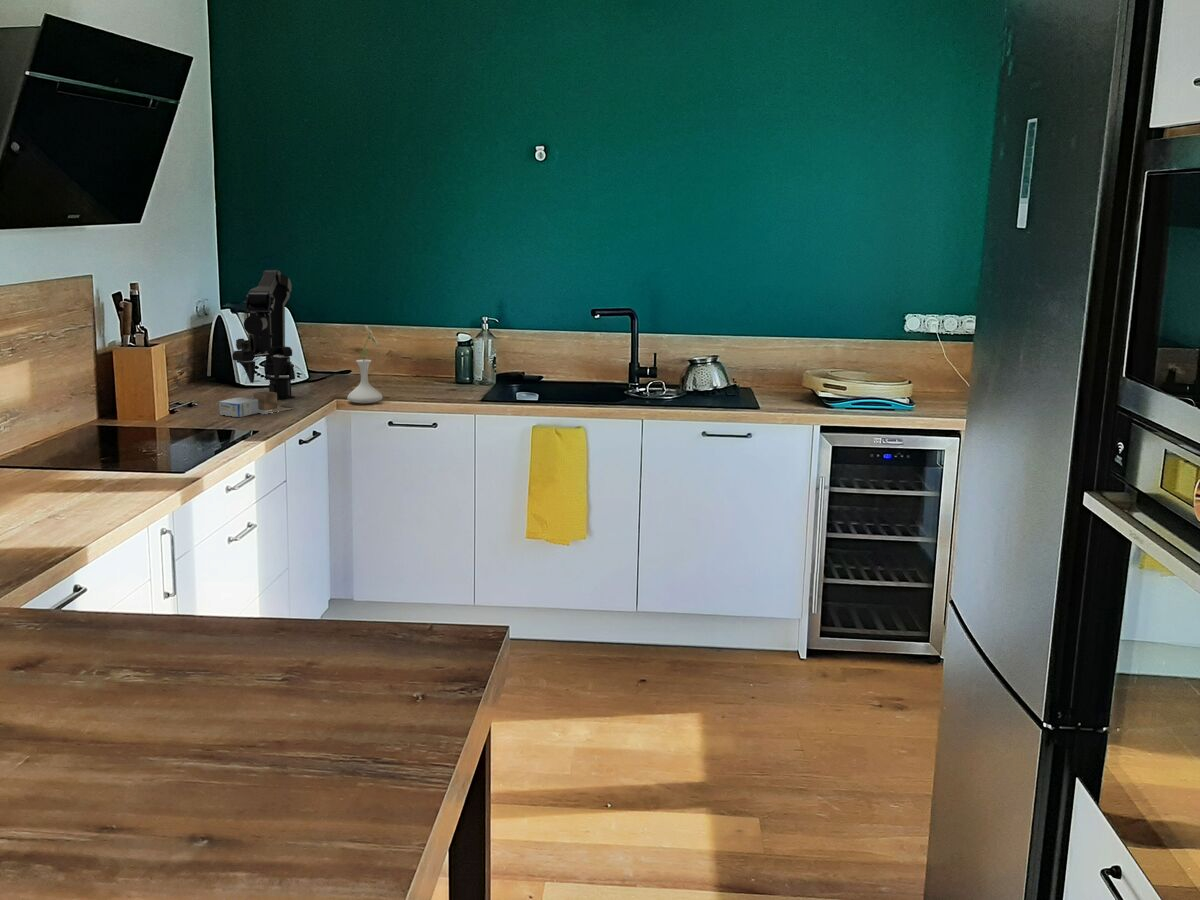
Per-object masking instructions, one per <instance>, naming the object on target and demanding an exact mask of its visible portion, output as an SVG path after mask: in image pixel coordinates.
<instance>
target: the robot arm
mask: <svg viewBox="0 0 1200 900" xmlns="http://www.w3.org/2000/svg"><path fill="white" fill-rule="evenodd" d="M261 277H262V278H261V279H260V281H259V283H258V285H257V286H255V287H253V288H250V290H249V291H248V293H246V298H245V304H244V314H249V316H248V317H246V318H245V320H244V321H243V328H244V330H245V331H246V333H248V334H249V335H248V340H247V339H244V338H238V339H236V341H235V346H236V349H237V350H234V351H233V352H232V354H231V355H232V356H231V357H232V361H235V362H236V363H237V364H240V366H242V367H243V369H244V371H245V373H246V375H247V378H248V380H249V383H250V384H254V382H255V375H256V374H255V372H256V361H254V360H255V358H263V357H265V361H264V364H263V367H264V368H263V369H264V376H265V381H269V384H268V392H275V393H277V400H284V399H283V398H286V399H290V398H289V397H292V398H295V395H292V381H293V380H296V372H295V368H294V365H293V364H292V363H293V362H292V361H291V357H292V356H293V349H292V348H291V347H290V346H286V304H287V302H288V301H289V299H290V297H291V296H290V295H291V293H292V288H293V287H292V282H291V279H290V278H289V276H287V275H285V274H283V273H281V271H280V270H278V269H266V270H263V272H262V276H261Z"/></svg>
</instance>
